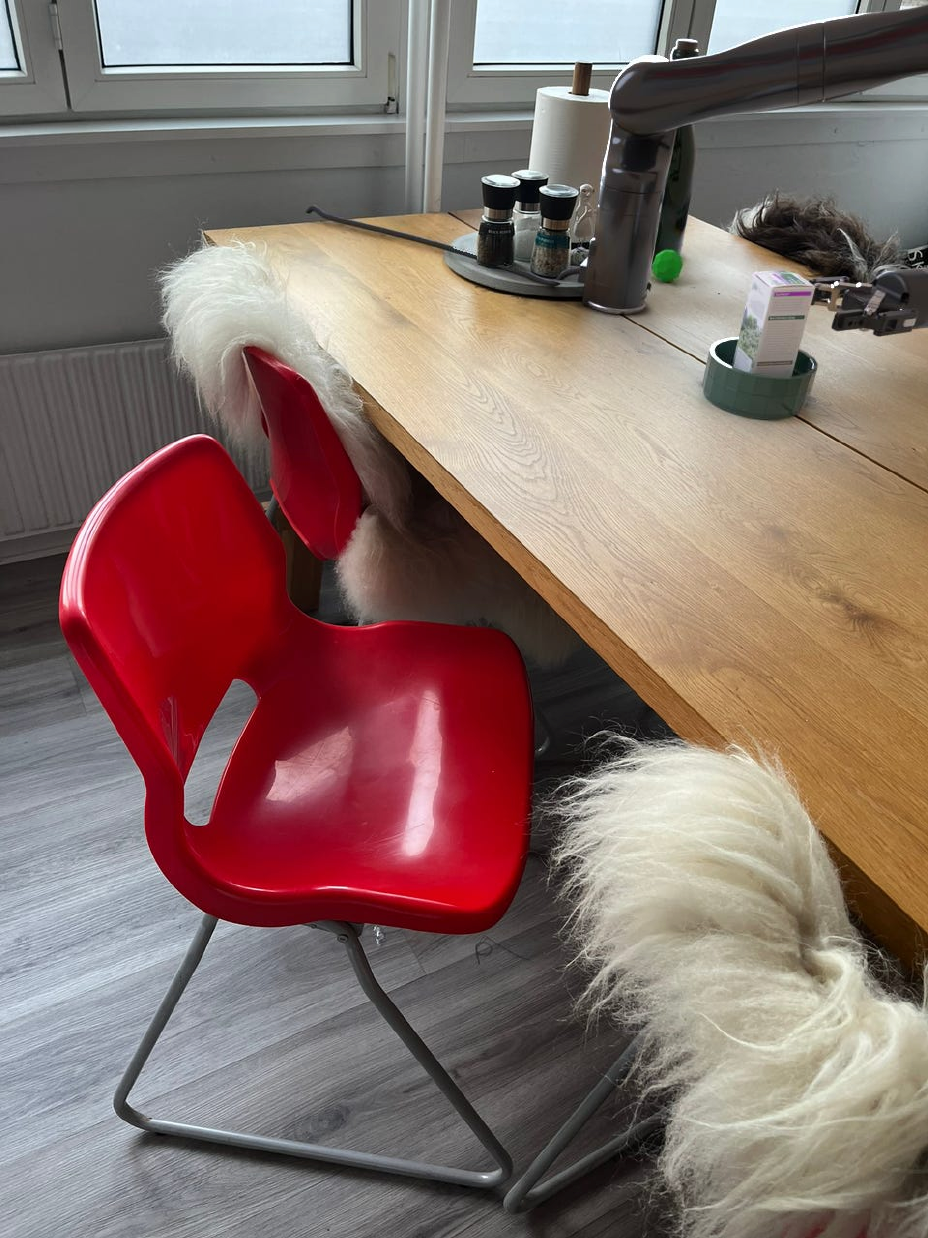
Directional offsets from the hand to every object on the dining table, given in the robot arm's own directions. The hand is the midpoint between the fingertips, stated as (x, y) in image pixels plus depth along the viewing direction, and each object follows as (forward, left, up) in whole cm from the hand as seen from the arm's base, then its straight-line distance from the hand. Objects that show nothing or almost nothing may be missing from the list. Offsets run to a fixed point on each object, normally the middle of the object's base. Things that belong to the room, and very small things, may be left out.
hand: (812, 309), depth 116 cm
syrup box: (-4, -4, -10) cm, 12 cm away
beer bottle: (-28, +52, -11) cm, 60 cm away
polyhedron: (-23, +38, -11) cm, 46 cm away
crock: (-4, -4, -11) cm, 12 cm away
